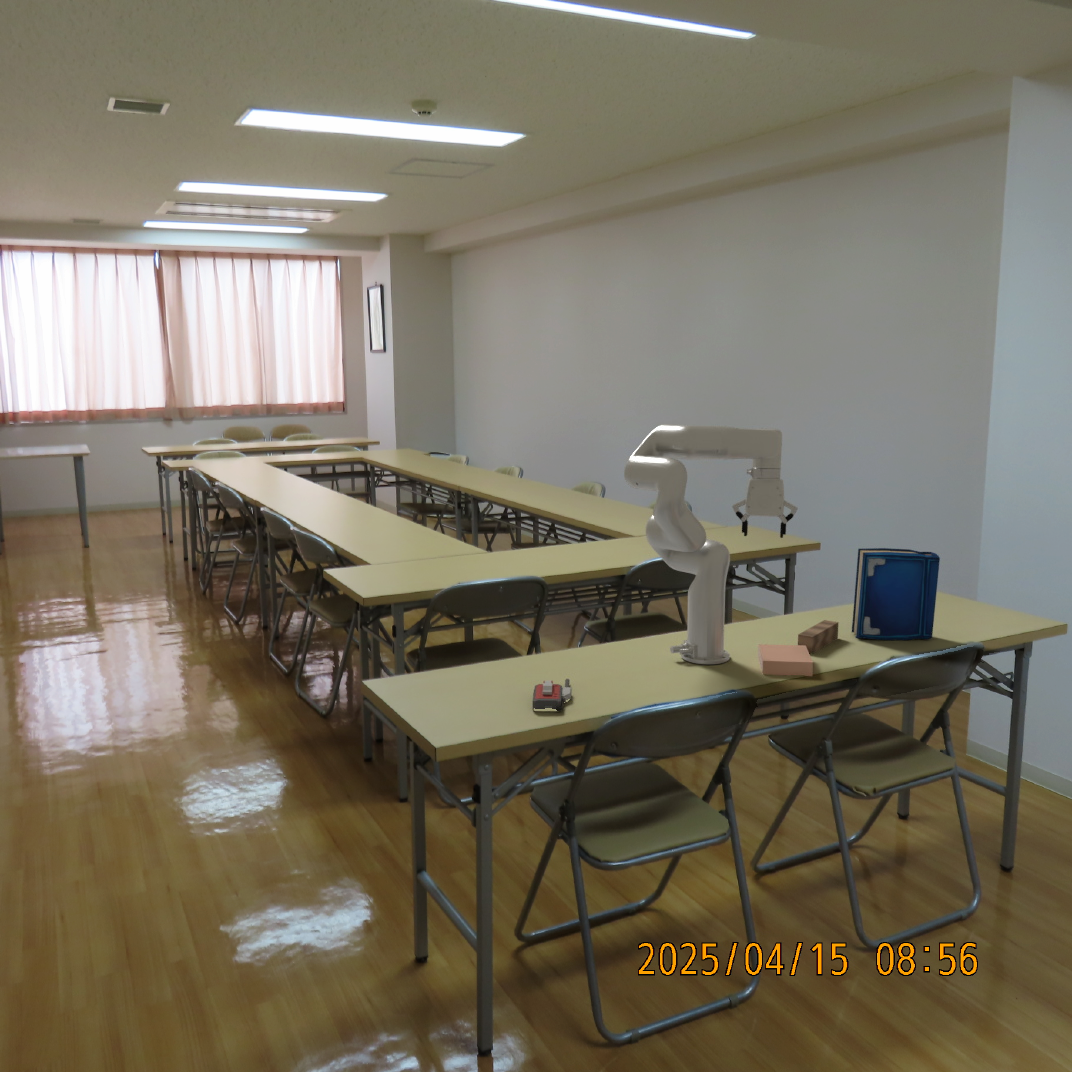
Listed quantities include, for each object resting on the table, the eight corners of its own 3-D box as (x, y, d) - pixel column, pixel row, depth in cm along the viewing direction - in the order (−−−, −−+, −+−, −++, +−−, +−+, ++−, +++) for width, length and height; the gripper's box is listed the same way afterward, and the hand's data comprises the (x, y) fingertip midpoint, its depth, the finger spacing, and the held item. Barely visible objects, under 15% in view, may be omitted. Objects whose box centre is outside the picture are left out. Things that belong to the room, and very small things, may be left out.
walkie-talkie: (570, 715, 206) (571, 685, 225) (570, 696, 205) (571, 667, 225) (531, 715, 206) (535, 685, 226) (531, 696, 205) (535, 667, 225)
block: (811, 655, 246) (812, 637, 245) (797, 652, 248) (798, 634, 247) (837, 639, 260) (838, 622, 259) (823, 636, 262) (824, 619, 261)
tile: (805, 660, 242) (812, 677, 228) (758, 658, 244) (762, 676, 230) (805, 645, 241) (812, 662, 228) (758, 644, 243) (762, 660, 230)
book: (929, 634, 262) (934, 547, 258) (937, 641, 255) (943, 552, 251) (850, 633, 264) (854, 547, 260) (856, 640, 257) (861, 552, 253)
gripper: (732, 474, 250) (730, 537, 253) (798, 476, 246) (795, 540, 248) (734, 472, 257) (732, 532, 260) (799, 473, 253) (796, 535, 255)
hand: (763, 536), depth 254 cm, fingers open, 9 cm apart
